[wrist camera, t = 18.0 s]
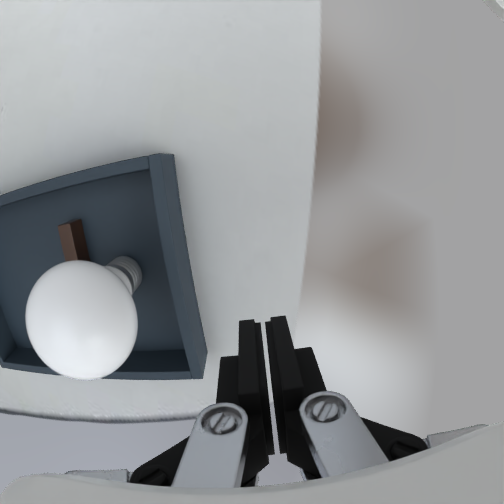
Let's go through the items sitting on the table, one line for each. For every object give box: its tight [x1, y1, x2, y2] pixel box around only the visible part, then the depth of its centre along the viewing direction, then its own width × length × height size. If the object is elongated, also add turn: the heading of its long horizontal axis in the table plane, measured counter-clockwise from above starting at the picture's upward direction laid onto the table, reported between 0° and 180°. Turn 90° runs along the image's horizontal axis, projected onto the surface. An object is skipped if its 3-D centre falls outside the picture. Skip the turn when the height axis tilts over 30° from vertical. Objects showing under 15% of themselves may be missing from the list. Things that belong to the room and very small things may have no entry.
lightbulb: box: [25, 256, 142, 380], centre depth 16 cm, size 6×6×11 cm
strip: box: [58, 219, 91, 262], centre depth 21 cm, size 1×9×2 cm, turn 6°
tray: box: [0, 153, 207, 380], centre depth 21 cm, size 22×16×4 cm
